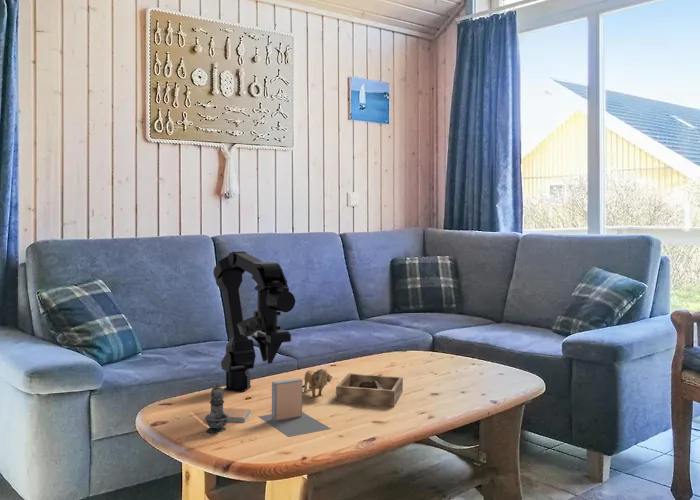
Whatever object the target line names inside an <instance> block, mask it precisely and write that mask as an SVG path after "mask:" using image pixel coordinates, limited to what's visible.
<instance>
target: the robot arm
mask: <svg viewBox="0 0 700 500" xmlns="http://www.w3.org/2000/svg"><path fill="white" fill-rule="evenodd" d="M245 272H247V273H249V274H251V278H252V280H253V281H255V283H256V284H257V285H256V286H255V287H254V290H255V291H257V310H254V312H253V316H251V317H249V318H246V319H244V315H243V309H242V302H241V296H240V287H241V285H242V282H243V275H244V274H245ZM213 277H214V279H215V283H216V285H217V287H218V288H219V289H220V291H221V292H222V293H223V302H224V307H225V309H224V310H225V314H226V321H227V327H228V328H227V329H228V335H229V340H228V341H227V344H226V347H225V354H224V357H223V359H222V360H221V362H220V365H221V369H222V370H223V371H225V387H224V388H223V391H226V392H228V391H230V392H239V393H240V392H242V393H243V392H245V391H247V390H248V389H250V388H251V386H252V385H251V373H250V369H251V370H252V369H254V367H255V361H256V357H257V356H256V351H255V346H254V341H256V343H257V346H258V348H259V351H260V355H261V359H262V361H263V362H267V364H270V365H271V364H273V361H274V359H275V358H276V355H277V353H278V351H279V349H280V347H281V345H282V343H289V342H292V333H290V331H288V330H285V329H281V325H279V323H278V320H279V319H278V317H279V316H281V312H282V313H288V312H290V311H292V310H293V308H294V307H295V305H296V298H295V296H294V294H293V293H292V292H290V287H289V286H288V280H287V278H286V277H285V274H284V271H283V269H282V267H281V265H280V264H279V263H278V262H273V261H262V260H260V259H258V258H256V257H254V255H253V256H252V255H250V254H249V253H247V252H246V251H243V250H239V251H237V250H236V251H235V250H234V251H231V252H229V253H228V255H227V256H225V257H223V258H222V259H220V260H219V261H218V262H217V263H216V265H215V266H214V267H213ZM252 334H253V335H252ZM249 336H250V337H251V339H249ZM253 339H254V341H253Z"/></svg>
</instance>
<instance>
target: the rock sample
mask: <svg viewBox="0 0 700 500" xmlns="http://www.w3.org/2000/svg"><path fill="white" fill-rule="evenodd" d="M359 388H372V389H383V388H382V387H381V386H380V385H379V383H378V382H377V381H372V382H367V381H366V382H362V383H360V385H359Z"/></svg>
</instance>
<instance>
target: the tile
mask: <svg viewBox="0 0 700 500" xmlns="http://www.w3.org/2000/svg"><path fill="white" fill-rule="evenodd" d="M302 386H303V379H302V378H300V377H299V378H292V379H291V378H290V379H285V380H283V379H282V380H277V381H272V382H271V414H272V420H273V421H281V420H286V419H292V418H298V417H302V412H303V388H302Z"/></svg>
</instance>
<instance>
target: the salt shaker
mask: <svg viewBox="0 0 700 500" xmlns="http://www.w3.org/2000/svg"><path fill="white" fill-rule="evenodd" d="M209 404H210V412H209V414H207V415H206V416H205V417H204V419H205V420H206V424H207V426H208V428H207V429H206V433H207V434H208V433H209V435H214V434H217V435H219V433H222V432H225V431H227V428H226V427H225V426H226V425H227V424H228V422H227V421H228V418H229V416H228V415H227V414H224V411H223V408H224V404H225V400H224V388H222V387H220V386H219V383H216V384H215V386H214V387H212V388H211V391H210V401H209Z"/></svg>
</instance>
